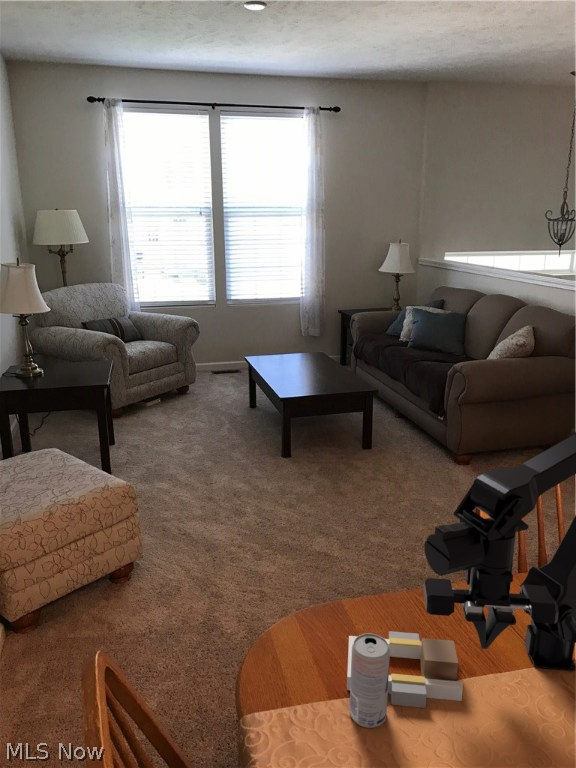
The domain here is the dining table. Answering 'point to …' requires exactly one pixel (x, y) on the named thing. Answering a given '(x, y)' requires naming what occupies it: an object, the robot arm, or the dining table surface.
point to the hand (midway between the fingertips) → (483, 647)
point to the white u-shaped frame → (408, 686)
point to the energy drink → (369, 680)
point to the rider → (438, 659)
